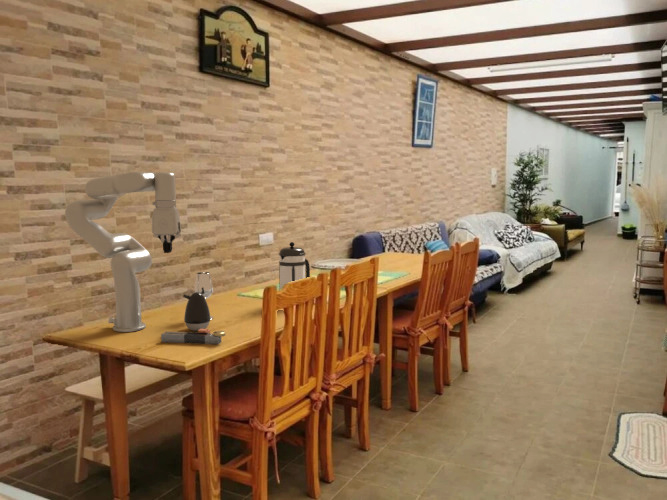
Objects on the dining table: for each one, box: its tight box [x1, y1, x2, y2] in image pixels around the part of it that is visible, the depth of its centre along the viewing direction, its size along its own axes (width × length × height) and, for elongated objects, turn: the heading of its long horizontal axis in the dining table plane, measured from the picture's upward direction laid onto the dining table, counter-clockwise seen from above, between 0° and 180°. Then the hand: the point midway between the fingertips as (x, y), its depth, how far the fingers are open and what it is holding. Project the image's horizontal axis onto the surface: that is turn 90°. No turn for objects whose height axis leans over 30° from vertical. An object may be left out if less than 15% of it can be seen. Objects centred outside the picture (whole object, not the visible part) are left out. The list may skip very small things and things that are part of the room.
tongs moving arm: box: [160, 332, 221, 346], centre depth 211 cm, size 22×2×3 cm, turn 81°
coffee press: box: [278, 241, 311, 290], centre depth 274 cm, size 17×16×30 cm
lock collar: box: [197, 328, 211, 334], centre depth 215 cm, size 3×4×4 cm
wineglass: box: [193, 271, 215, 321], centre depth 246 cm, size 8×8×20 cm
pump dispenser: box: [182, 291, 211, 332], centre depth 229 cm, size 10×10×15 cm
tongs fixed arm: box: [163, 330, 227, 344], centre depth 212 cm, size 24×4×4 cm, turn 80°
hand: (167, 252), depth 220 cm, fingers closed
